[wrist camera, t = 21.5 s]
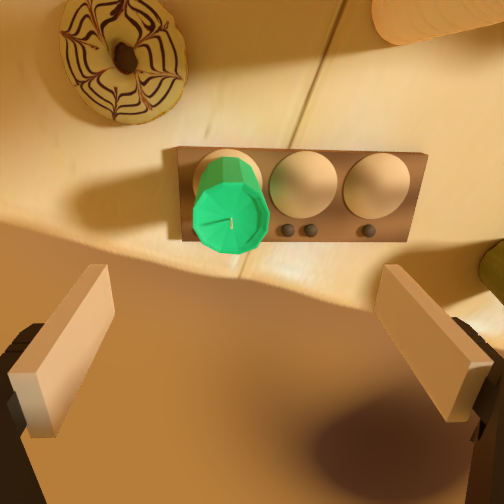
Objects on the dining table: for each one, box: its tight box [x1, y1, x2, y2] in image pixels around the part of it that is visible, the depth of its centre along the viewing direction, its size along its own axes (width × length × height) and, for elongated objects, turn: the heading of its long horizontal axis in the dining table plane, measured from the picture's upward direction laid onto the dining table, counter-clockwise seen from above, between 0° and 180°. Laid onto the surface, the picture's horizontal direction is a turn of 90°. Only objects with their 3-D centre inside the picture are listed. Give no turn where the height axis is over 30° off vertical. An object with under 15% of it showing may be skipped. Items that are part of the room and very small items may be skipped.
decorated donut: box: [59, 0, 188, 125], centre depth 30 cm, size 10×11×4 cm
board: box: [177, 146, 429, 242], centre depth 38 cm, size 10×26×2 cm, turn 88°
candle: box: [193, 156, 270, 254], centre depth 30 cm, size 6×6×12 cm
